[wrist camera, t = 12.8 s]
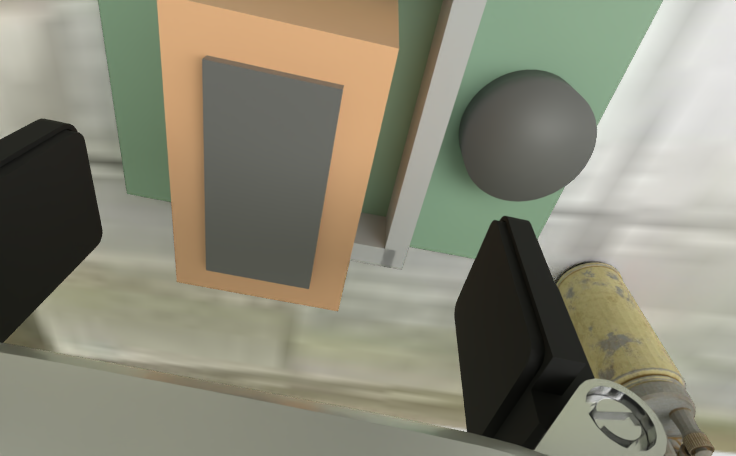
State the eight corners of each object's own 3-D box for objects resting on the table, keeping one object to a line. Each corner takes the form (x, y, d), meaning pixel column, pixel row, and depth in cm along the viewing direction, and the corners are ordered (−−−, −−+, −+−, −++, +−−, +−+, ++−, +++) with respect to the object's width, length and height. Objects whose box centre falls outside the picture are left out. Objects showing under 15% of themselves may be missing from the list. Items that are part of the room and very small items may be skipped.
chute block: (397, -6, 16) (398, 52, 9) (356, 184, 20) (337, 318, 14) (258, -39, 15) (149, -5, 9) (248, 162, 20) (172, 288, 13)
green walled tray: (669, -49, 16) (735, -41, 12) (517, 253, 24) (534, 302, 21) (91, -190, 14) (8, -219, 11) (138, 181, 22) (98, 222, 19)
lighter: (602, 346, 27) (689, 526, 19) (539, 348, 28) (598, 526, 20) (625, 257, 23) (747, 439, 15) (551, 262, 24) (632, 441, 16)
